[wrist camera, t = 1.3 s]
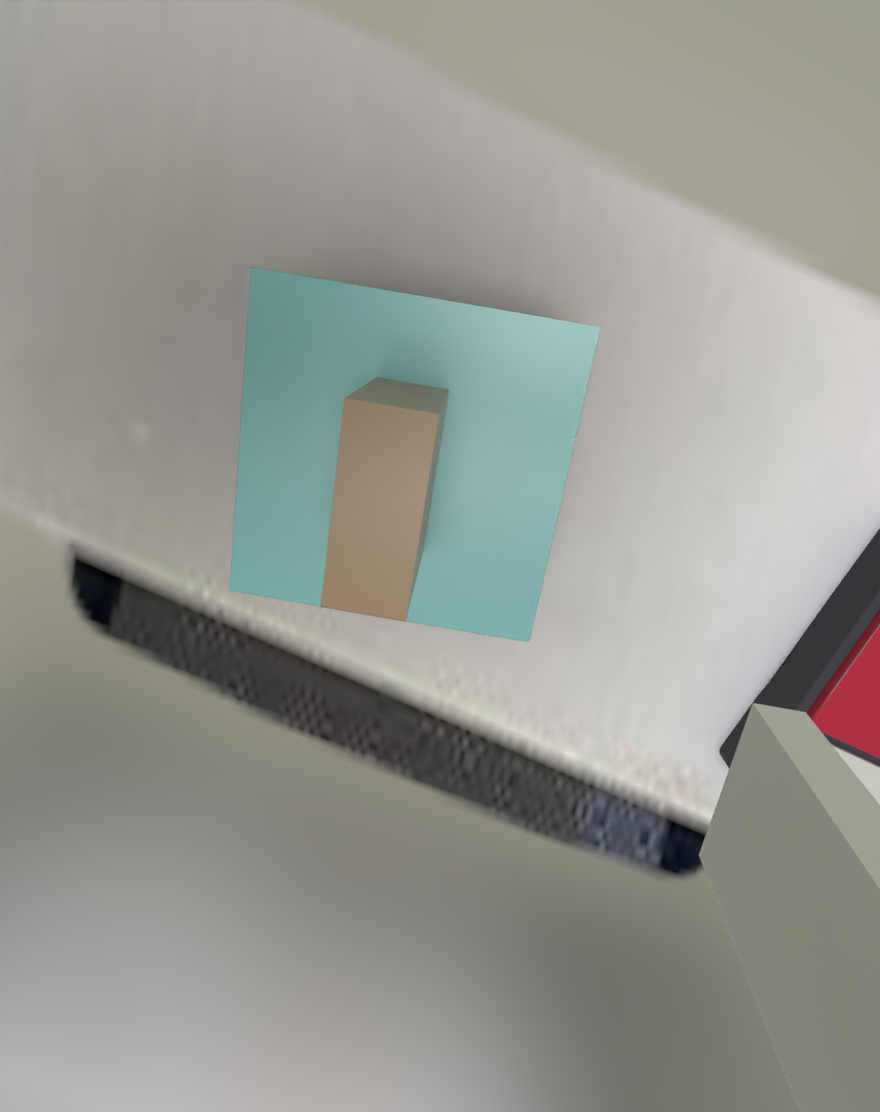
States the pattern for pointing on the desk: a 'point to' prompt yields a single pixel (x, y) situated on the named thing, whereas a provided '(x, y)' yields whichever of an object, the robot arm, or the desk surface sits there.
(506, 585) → the lid
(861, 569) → the calculator
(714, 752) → the desk surface
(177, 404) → the desk surface
